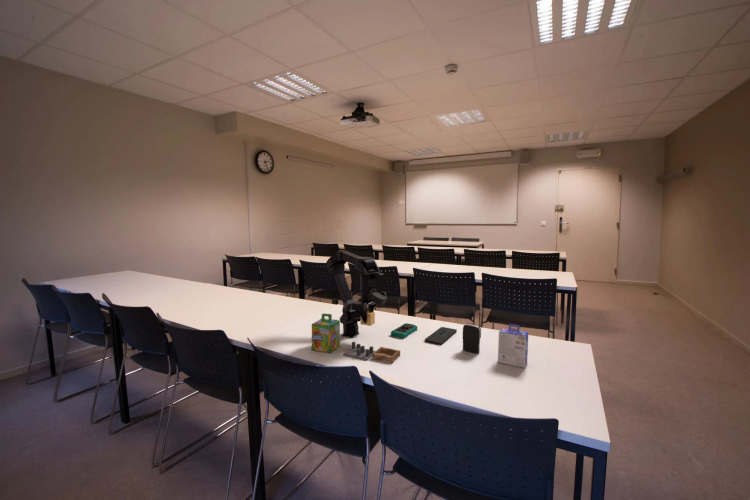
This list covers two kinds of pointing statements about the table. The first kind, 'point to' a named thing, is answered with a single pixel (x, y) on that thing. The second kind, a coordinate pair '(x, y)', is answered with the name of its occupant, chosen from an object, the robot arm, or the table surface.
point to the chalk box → (326, 334)
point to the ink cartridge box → (513, 346)
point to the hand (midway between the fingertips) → (367, 321)
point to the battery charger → (471, 338)
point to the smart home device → (440, 336)
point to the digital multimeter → (404, 330)
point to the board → (359, 352)
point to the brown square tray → (386, 354)
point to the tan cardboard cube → (369, 319)
